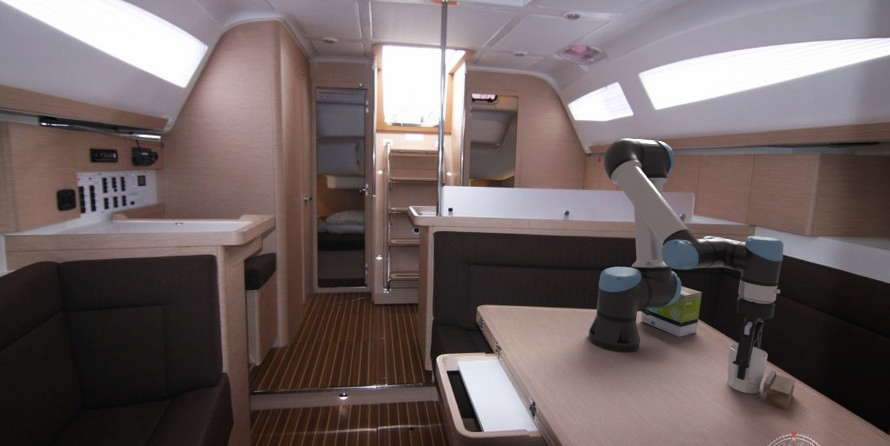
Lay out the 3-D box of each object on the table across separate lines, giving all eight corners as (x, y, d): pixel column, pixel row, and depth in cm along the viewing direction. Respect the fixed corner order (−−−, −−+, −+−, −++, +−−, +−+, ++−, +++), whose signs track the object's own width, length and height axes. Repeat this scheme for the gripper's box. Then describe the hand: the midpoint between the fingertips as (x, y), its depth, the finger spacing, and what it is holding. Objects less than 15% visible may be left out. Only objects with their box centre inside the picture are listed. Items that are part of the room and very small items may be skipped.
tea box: (639, 322, 152) (643, 282, 149) (657, 318, 156) (661, 279, 154) (679, 337, 138) (684, 294, 136) (697, 333, 143) (703, 291, 141)
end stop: (761, 401, 101) (764, 382, 100) (768, 387, 108) (771, 369, 107) (786, 410, 98) (789, 391, 97) (792, 395, 105) (795, 377, 104)
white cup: (768, 397, 103) (774, 359, 102) (732, 392, 105) (738, 354, 103) (752, 381, 111) (757, 345, 110) (719, 377, 112) (724, 341, 111)
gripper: (767, 312, 94) (752, 405, 98) (782, 294, 109) (769, 375, 113) (728, 303, 100) (715, 392, 103) (747, 287, 115) (736, 365, 118)
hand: (743, 383), depth 108 cm, fingers open, 9 cm apart
